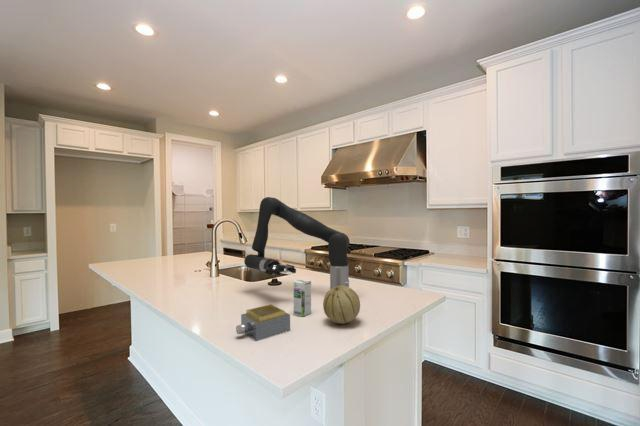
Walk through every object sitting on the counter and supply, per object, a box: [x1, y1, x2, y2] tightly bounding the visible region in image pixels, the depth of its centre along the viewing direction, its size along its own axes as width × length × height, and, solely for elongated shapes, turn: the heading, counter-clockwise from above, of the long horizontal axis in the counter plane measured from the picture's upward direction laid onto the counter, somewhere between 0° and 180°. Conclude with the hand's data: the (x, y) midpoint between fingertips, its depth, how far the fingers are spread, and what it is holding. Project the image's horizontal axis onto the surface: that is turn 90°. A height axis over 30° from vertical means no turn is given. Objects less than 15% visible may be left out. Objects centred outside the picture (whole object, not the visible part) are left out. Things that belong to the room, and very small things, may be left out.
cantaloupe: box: [322, 285, 361, 325], centre depth 122 cm, size 15×15×15 cm
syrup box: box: [292, 279, 312, 318], centre depth 132 cm, size 6×6×14 cm
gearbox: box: [235, 304, 291, 342], centre depth 113 cm, size 18×12×8 cm, turn 129°
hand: (287, 272), depth 140 cm, fingers open, 8 cm apart
